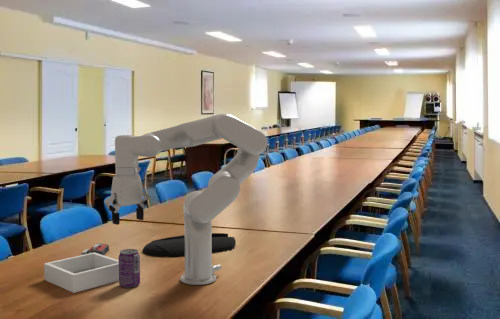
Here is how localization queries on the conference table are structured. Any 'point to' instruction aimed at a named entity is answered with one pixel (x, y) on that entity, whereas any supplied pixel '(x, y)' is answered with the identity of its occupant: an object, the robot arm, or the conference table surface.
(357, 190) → the conference table surface
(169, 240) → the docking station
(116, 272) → the walled box
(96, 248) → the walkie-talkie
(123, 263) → the beverage can
